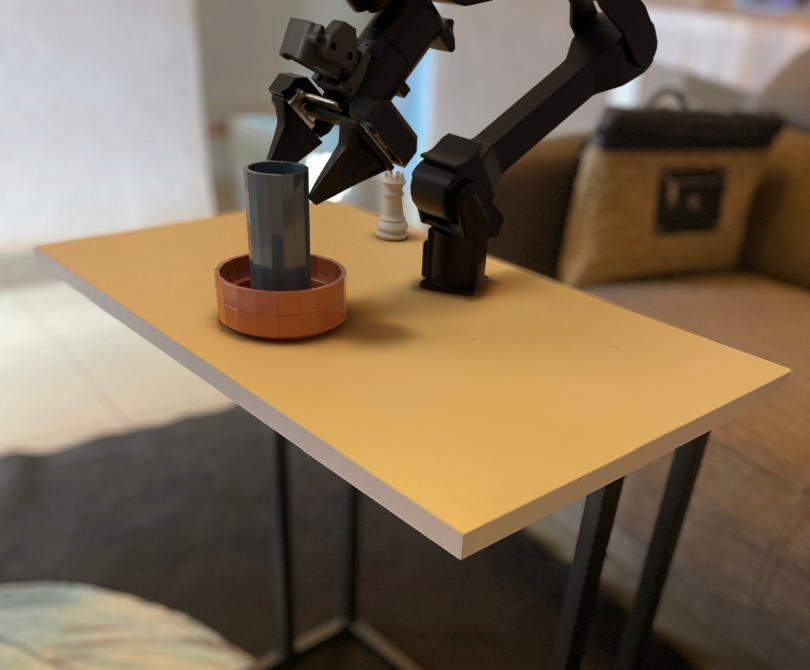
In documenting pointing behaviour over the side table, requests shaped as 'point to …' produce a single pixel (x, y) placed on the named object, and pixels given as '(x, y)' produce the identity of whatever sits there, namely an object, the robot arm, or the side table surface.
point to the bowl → (281, 301)
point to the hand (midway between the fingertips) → (287, 190)
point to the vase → (278, 225)
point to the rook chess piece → (393, 209)
